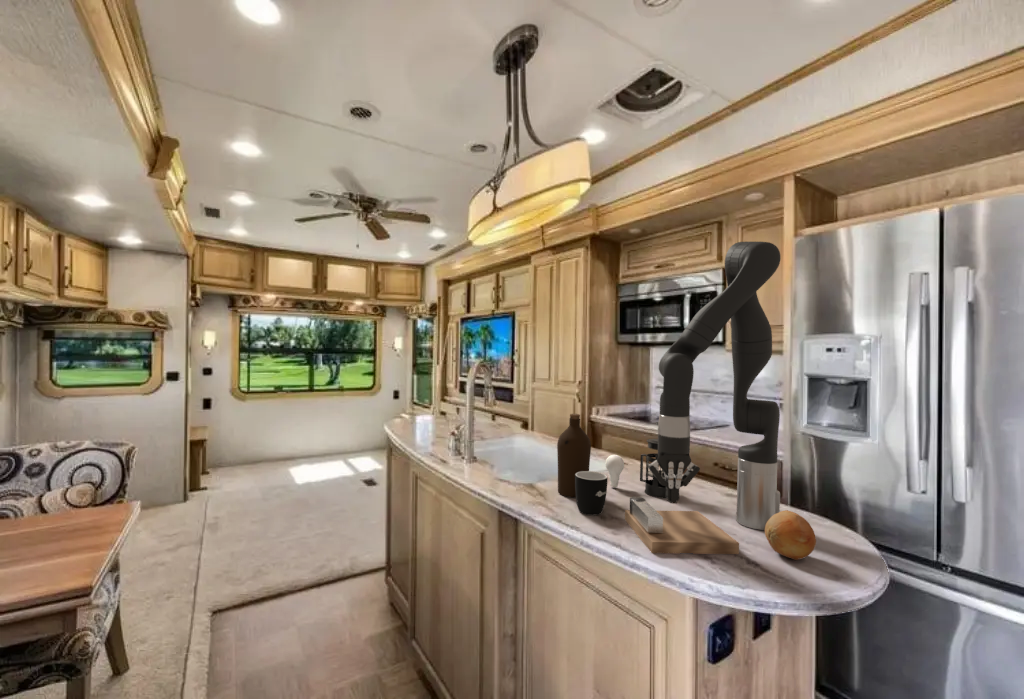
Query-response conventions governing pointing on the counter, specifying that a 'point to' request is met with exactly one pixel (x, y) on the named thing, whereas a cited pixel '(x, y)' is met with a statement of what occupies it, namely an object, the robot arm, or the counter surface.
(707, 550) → the wooden cutting board
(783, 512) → the onion
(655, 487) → the french press
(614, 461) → the lightbulb
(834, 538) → the counter surface
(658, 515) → the hinged leg
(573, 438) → the olive oil
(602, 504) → the mug
